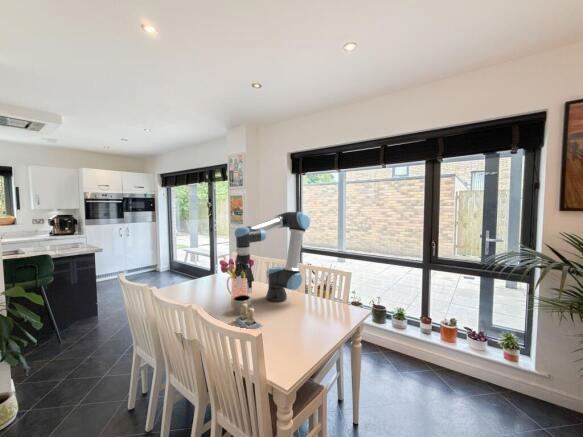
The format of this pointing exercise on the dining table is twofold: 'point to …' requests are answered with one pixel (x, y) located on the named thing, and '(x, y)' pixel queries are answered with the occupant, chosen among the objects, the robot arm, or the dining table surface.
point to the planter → (238, 301)
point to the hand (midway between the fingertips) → (244, 289)
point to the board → (244, 323)
